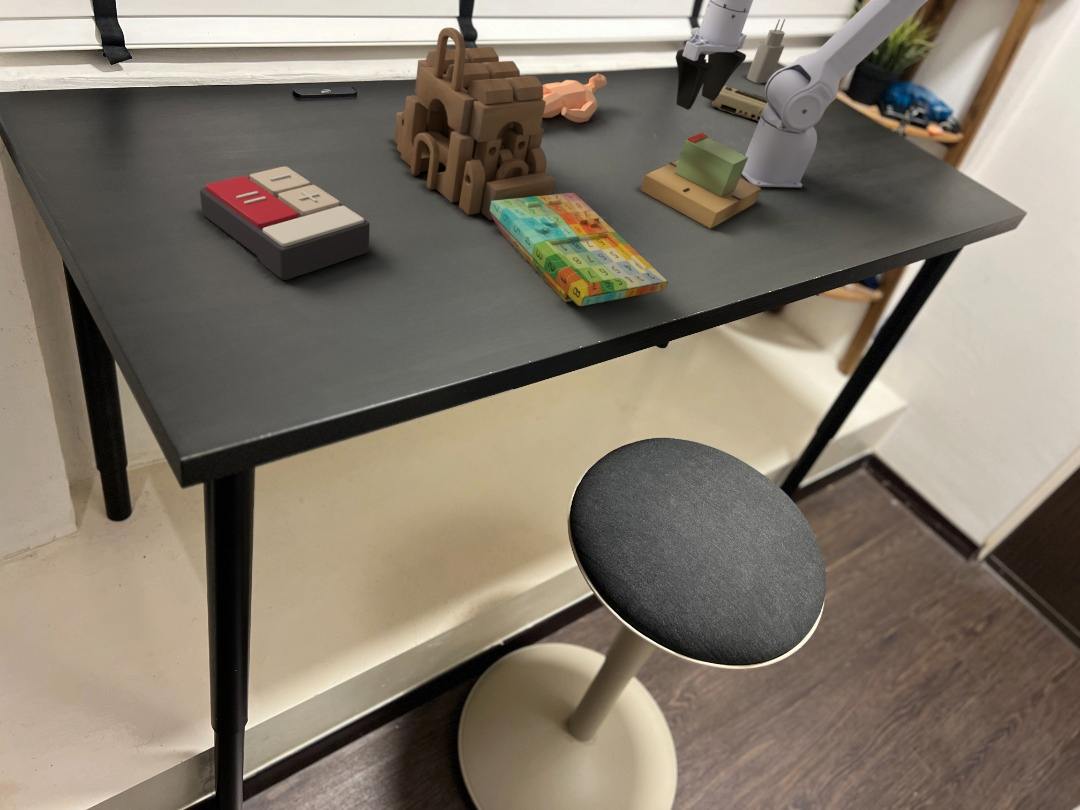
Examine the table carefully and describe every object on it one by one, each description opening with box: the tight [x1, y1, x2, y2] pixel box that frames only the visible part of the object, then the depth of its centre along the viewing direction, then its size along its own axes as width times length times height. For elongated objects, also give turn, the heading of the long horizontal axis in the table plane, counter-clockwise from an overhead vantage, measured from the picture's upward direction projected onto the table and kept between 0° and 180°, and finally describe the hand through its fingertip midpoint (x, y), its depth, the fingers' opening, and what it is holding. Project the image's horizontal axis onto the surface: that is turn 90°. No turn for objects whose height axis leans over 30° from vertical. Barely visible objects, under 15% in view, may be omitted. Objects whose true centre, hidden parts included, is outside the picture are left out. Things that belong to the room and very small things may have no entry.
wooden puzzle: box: [393, 27, 556, 221], centre depth 98 cm, size 22×15×19 cm, turn 39°
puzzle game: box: [489, 192, 669, 307], centre depth 90 cm, size 12×5×20 cm
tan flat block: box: [640, 160, 762, 230], centre depth 113 cm, size 14×12×3 cm
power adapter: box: [746, 18, 786, 84], centre depth 158 cm, size 3×5×12 cm, turn 131°
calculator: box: [199, 166, 371, 281], centre depth 84 cm, size 11×4×15 cm
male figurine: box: [542, 73, 607, 123], centre depth 124 cm, size 11×5×25 cm
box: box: [674, 132, 748, 197], centre depth 110 cm, size 8×4×5 cm, turn 52°
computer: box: [711, 84, 767, 122], centre depth 145 cm, size 16×8×3 cm, turn 73°
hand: (695, 102), depth 116 cm, fingers open, 7 cm apart
